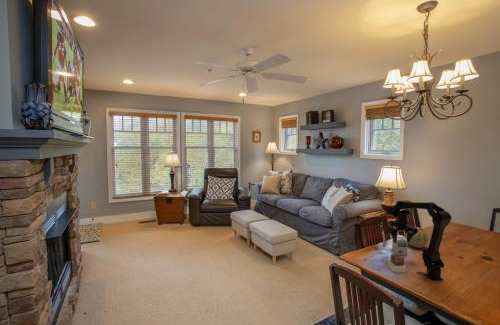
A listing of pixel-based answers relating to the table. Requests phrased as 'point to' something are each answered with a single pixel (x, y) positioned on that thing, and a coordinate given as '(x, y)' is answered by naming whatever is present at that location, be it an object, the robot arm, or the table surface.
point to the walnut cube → (397, 259)
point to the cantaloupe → (419, 238)
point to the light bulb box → (400, 245)
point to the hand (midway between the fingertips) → (401, 242)
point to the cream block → (397, 268)
